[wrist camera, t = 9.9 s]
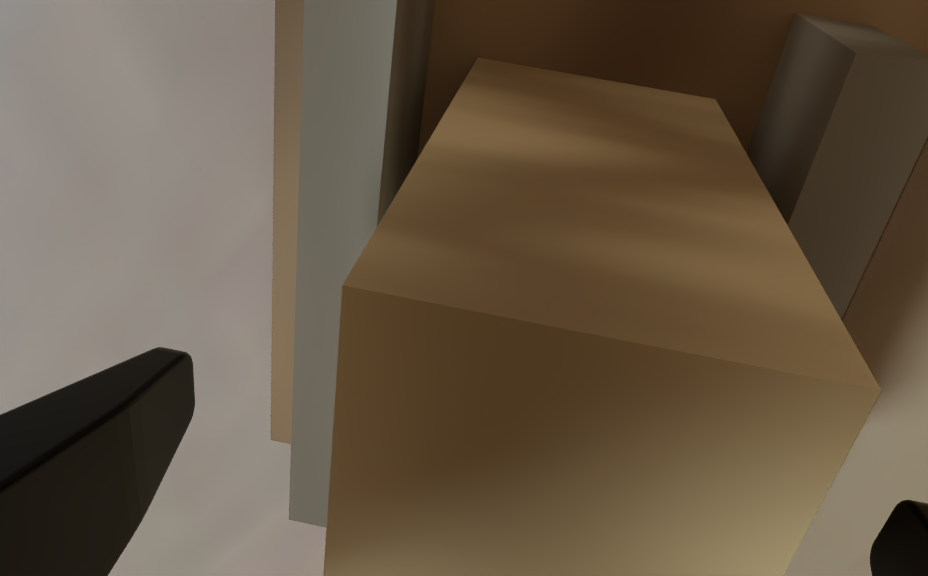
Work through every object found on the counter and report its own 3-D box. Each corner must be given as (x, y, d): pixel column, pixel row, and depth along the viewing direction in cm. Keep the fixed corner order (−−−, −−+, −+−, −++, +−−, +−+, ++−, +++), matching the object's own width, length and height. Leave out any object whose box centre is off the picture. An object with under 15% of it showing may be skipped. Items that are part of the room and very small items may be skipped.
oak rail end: (715, 99, 12) (882, 390, 5) (609, 438, 16) (626, 869, 9) (478, 57, 12) (341, 285, 6) (427, 402, 16) (309, 795, 9)
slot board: (974, -35, 12) (1138, 4, 8) (732, 505, 18) (767, 659, 14) (299, -146, 12) (186, -153, 9) (285, 412, 18) (215, 538, 15)
